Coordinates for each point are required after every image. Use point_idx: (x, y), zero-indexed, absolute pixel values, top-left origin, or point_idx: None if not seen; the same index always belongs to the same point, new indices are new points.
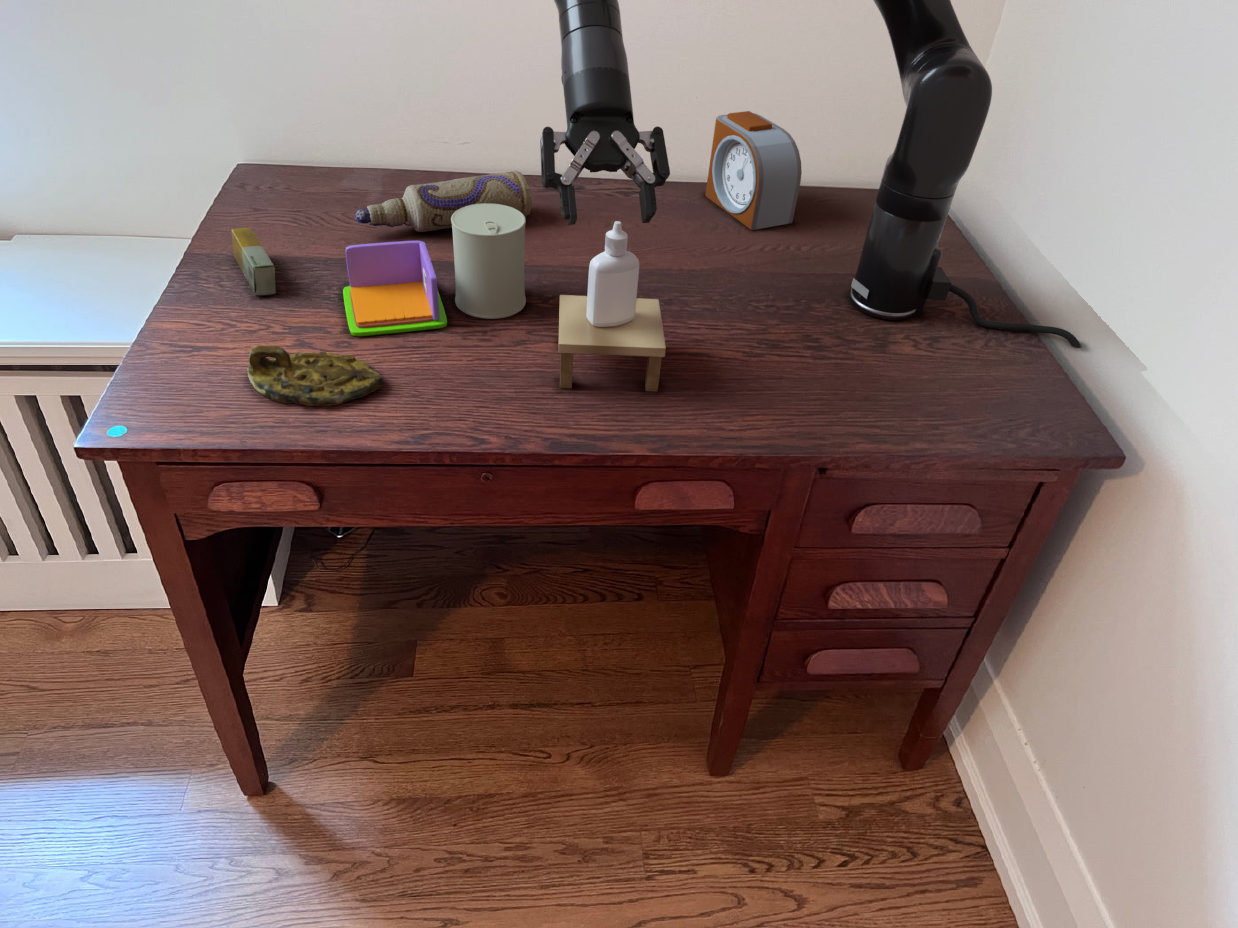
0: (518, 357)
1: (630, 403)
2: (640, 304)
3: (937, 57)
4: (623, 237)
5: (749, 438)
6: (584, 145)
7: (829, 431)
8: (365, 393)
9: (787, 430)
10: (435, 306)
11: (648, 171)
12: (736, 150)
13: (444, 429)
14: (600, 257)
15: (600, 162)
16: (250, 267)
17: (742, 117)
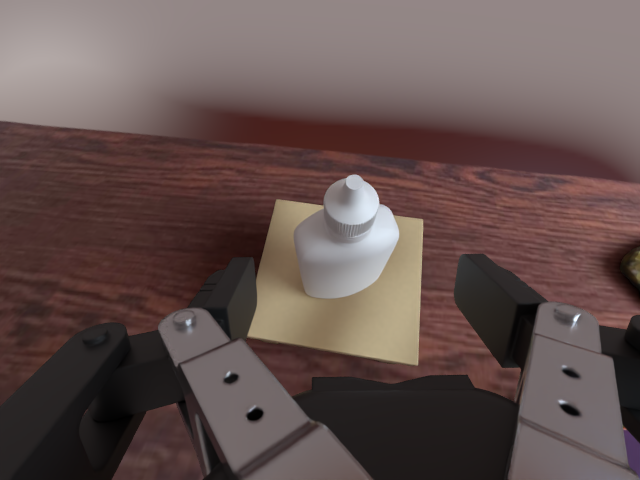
0: (454, 323)
1: None
2: (279, 318)
3: None
4: (338, 182)
5: (218, 157)
6: (603, 441)
7: (133, 159)
8: (633, 249)
9: (174, 164)
10: (623, 430)
11: (175, 343)
12: None
13: (523, 195)
14: (381, 218)
15: (428, 385)
16: None
17: None
